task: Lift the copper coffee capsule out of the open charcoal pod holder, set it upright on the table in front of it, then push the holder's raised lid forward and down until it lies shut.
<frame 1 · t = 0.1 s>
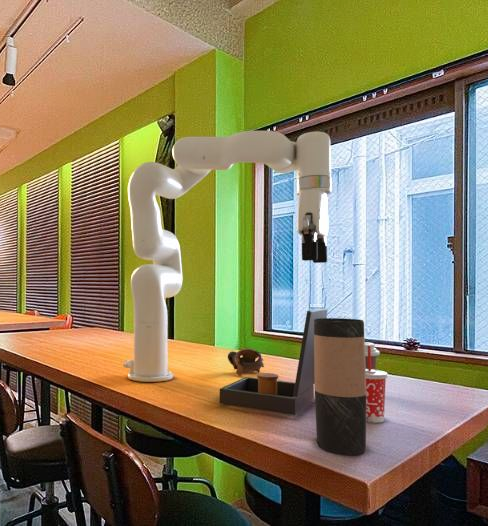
hand: (315, 261, 100), 31 cm above the table, tool pointing down, fingers open, 9 cm apart
capsule: (267, 400, 94), point 1 cm above the table, touching pod holder
travel mug: (341, 448, 69), on the table
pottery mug: (245, 374, 129), on the table
coffee cup: (359, 394, 105), on the table
beverage cup: (370, 420, 84), on the table
pod holder: (267, 405, 94), on the table
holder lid: (311, 349, 90), point 13 cm above the table, hinge at 100.0°
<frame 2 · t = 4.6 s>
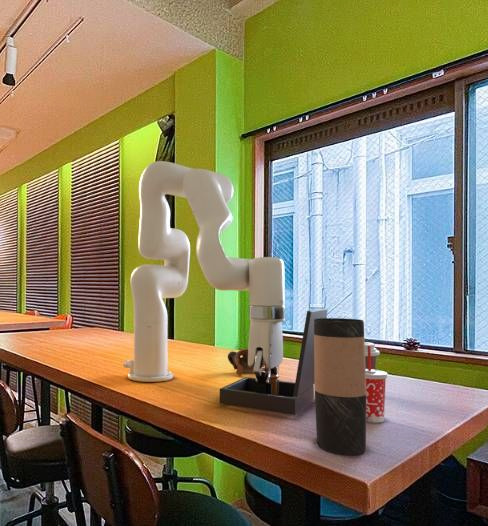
hand: (267, 398, 94), 1 cm above the table, tool pointing down, fingers closed on capsule, 4 cm apart
capsule: (267, 400, 94), point 1 cm above the table, touching gripper, pod holder
everything else where it was.
when the fingers open (0 cm above the table, at t = 11.9 s): capsule stays where it is, on the table.
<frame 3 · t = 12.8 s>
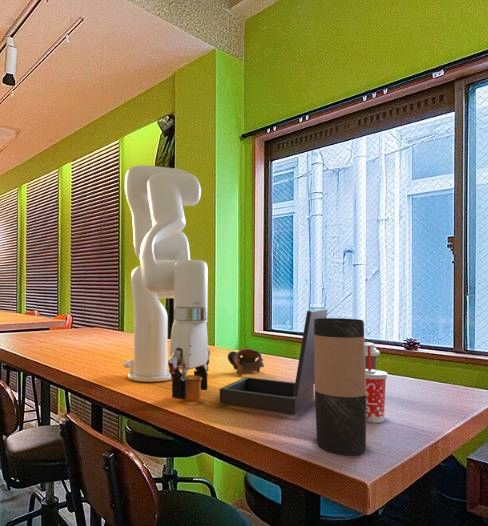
hand: (190, 393, 96), 2 cm above the table, tool pointing down, fingers open, 9 cm apart
capsule: (191, 402, 96), on the table
everything else where it was.
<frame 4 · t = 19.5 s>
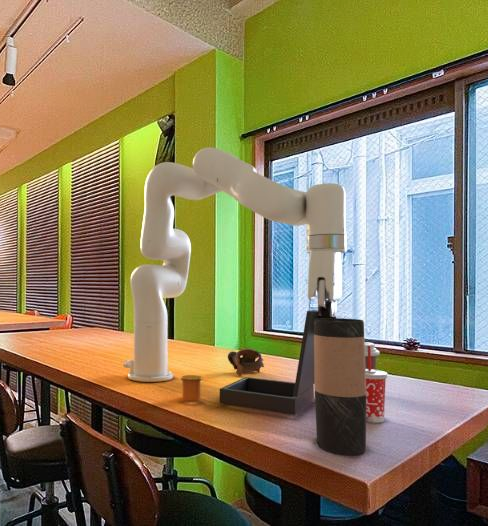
hand: (327, 335, 88), 15 cm above the table, tool pointing down, fingers closed
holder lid: (311, 349, 90), point 13 cm above the table, hinge at 99.9°, touching gripper
everything else where it was.
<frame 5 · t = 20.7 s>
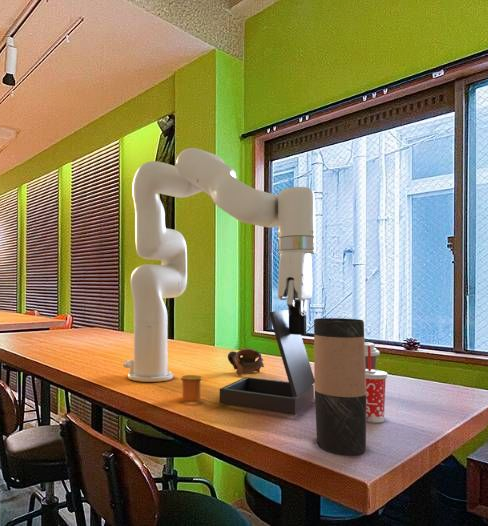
hand: (297, 334, 92), 16 cm above the table, tool pointing down, fingers closed
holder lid: (293, 349, 92), point 12 cm above the table, hinge at 73.6°, touching gripper
everything else where it was.
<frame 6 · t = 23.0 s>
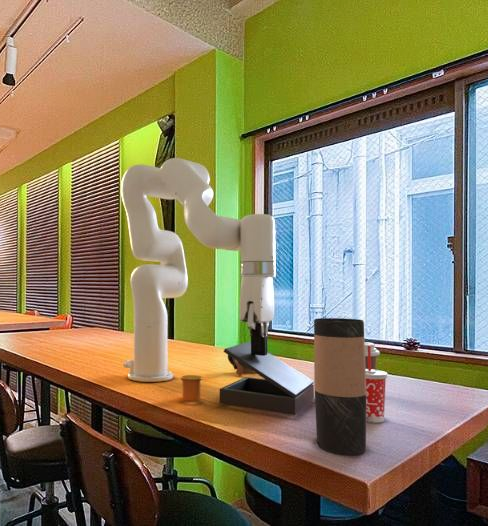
hand: (259, 354, 96), 11 cm above the table, tool pointing down, fingers closed
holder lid: (269, 366, 94), point 8 cm above the table, hinge at 27.5°, touching gripper
everything else where it was.
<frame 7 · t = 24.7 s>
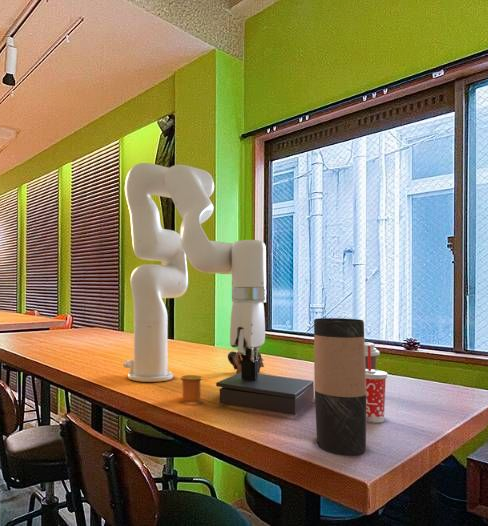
hand: (249, 379, 97), 5 cm above the table, tool pointing down, fingers closed
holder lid: (265, 383, 95), point 5 cm above the table, hinge at 1.1°, touching gripper
everything else where it was.
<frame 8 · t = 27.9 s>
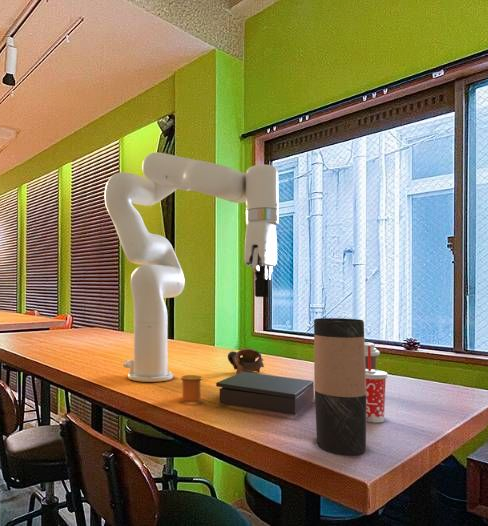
hand: (262, 296, 102), 23 cm above the table, tool pointing down, fingers closed
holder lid: (265, 383, 95), point 5 cm above the table, hinge at 1.1°
everything else where it was.
at the end: capsule inside the target area (0.4 cm from its centre), on the table; capsule tilted 0°; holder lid at +1° (first picture: +100°) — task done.
